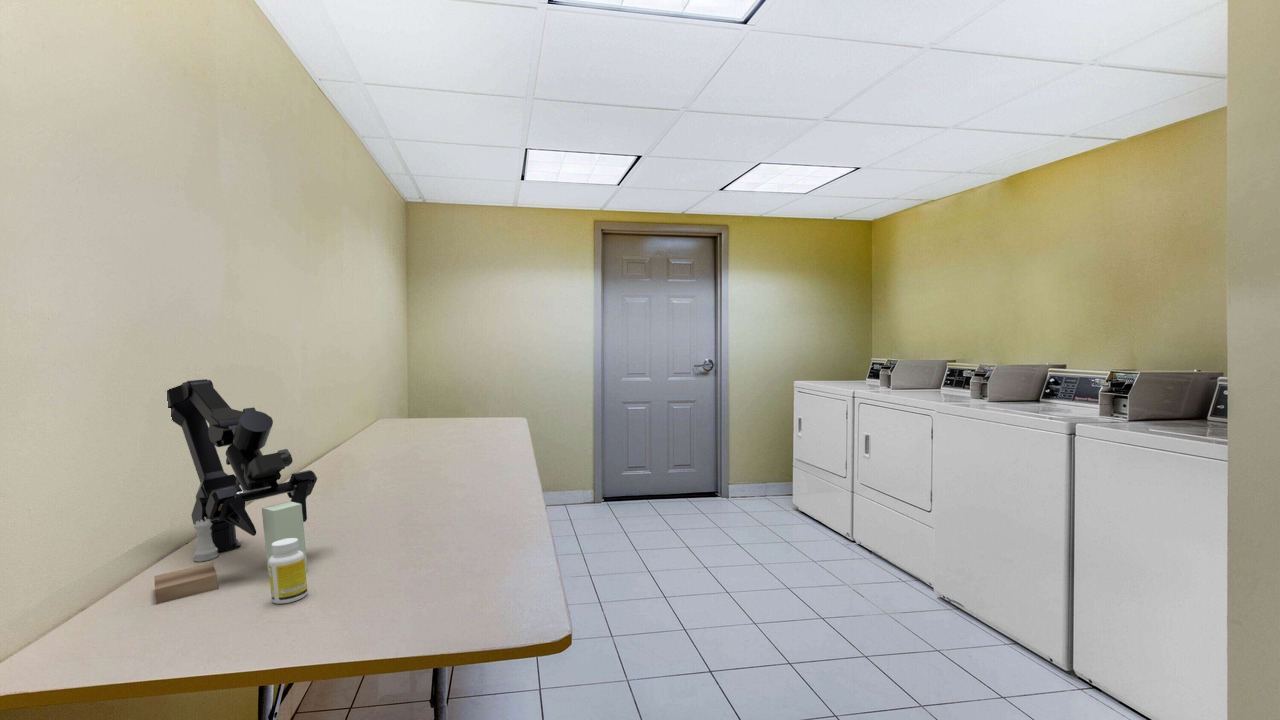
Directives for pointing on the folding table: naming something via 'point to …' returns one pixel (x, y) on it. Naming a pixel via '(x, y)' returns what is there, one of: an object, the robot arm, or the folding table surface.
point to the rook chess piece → (204, 542)
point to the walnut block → (185, 583)
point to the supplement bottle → (287, 572)
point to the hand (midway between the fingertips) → (280, 527)
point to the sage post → (283, 526)
